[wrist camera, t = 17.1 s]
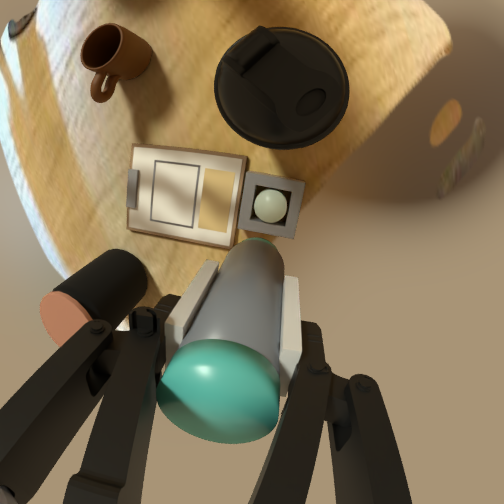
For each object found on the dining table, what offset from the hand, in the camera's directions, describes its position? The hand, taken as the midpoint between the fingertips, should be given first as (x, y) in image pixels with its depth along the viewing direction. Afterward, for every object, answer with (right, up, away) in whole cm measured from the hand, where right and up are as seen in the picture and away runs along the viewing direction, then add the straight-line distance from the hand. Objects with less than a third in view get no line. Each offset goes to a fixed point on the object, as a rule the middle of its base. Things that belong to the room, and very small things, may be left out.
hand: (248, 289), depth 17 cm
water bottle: (+5, +21, +20) cm, 30 cm away
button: (+3, +9, +25) cm, 27 cm away
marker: (+1, +2, +5) cm, 5 cm away
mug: (-19, +31, +20) cm, 41 cm away
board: (-10, +11, +26) cm, 30 cm away
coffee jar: (-23, -2, +32) cm, 40 cm away
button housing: (+3, +9, +25) cm, 27 cm away
